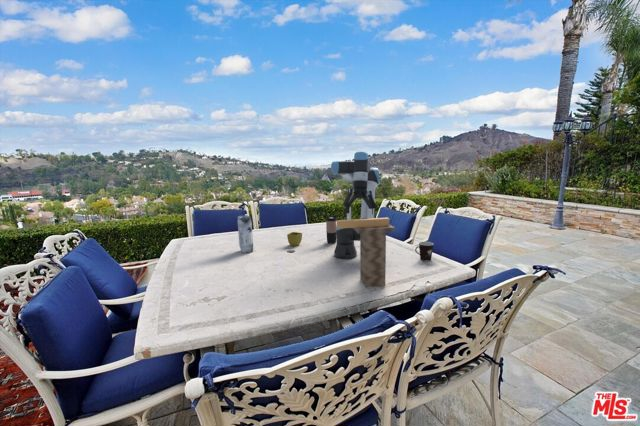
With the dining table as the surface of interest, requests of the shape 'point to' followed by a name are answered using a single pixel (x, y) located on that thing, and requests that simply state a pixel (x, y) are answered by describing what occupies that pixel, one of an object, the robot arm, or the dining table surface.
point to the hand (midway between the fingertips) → (359, 220)
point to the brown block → (362, 223)
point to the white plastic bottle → (245, 233)
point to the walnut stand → (373, 254)
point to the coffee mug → (425, 250)
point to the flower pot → (294, 238)
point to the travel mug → (331, 229)
